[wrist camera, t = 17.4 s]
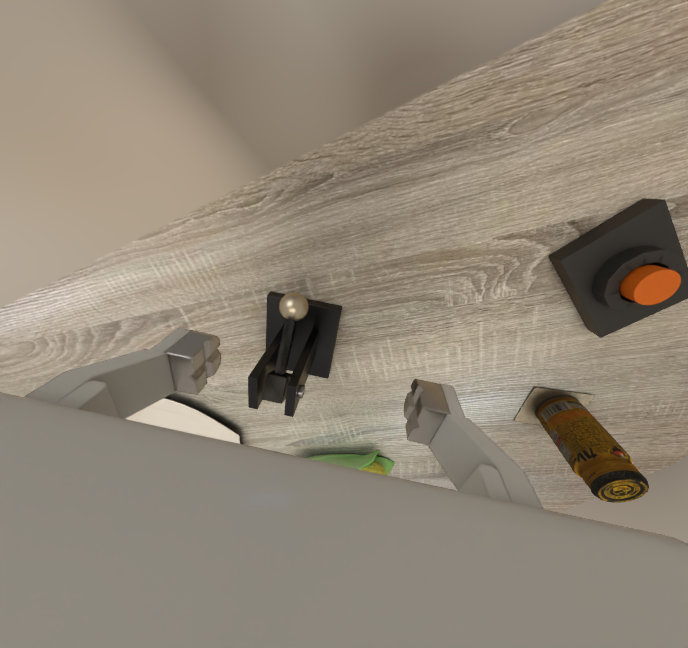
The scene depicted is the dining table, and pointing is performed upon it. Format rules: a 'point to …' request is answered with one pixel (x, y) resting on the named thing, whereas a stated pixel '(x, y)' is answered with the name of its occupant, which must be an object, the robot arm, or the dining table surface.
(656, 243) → the dark grey button base
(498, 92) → the dining table surface
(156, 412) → the plate
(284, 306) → the switch lever
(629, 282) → the power button
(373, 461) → the corn
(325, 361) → the ball handle lever stand
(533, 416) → the condiment
